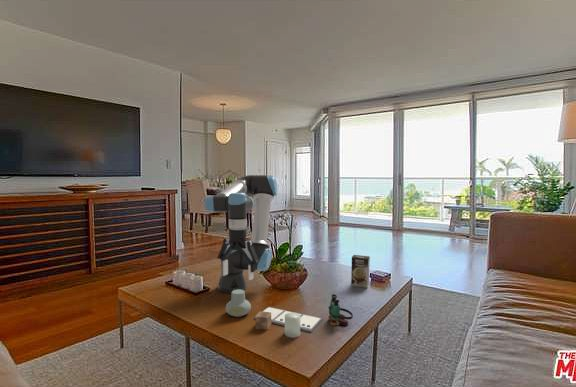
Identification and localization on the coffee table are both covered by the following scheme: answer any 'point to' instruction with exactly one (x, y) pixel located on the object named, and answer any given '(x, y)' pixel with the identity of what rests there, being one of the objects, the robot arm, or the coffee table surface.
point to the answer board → (278, 315)
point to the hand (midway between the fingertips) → (237, 277)
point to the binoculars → (337, 312)
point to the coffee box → (360, 271)
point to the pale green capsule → (292, 325)
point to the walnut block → (263, 320)
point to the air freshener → (238, 304)
